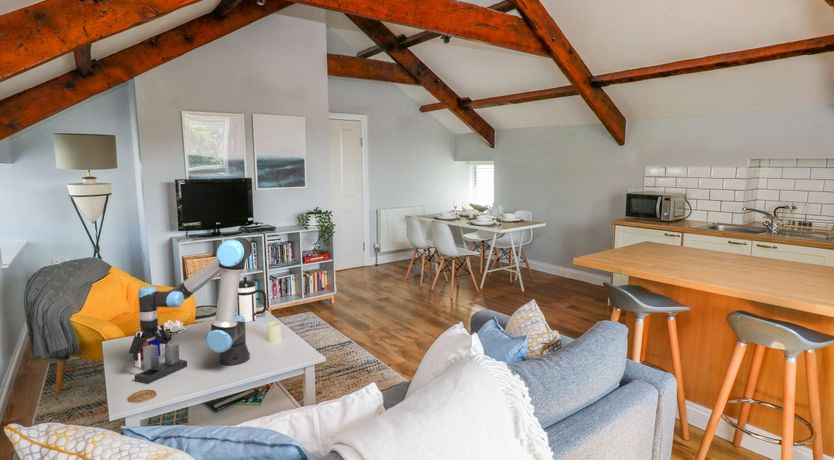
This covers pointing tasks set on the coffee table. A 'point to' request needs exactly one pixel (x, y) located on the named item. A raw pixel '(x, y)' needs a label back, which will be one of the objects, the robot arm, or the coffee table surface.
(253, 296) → the coffee press
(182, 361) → the rail
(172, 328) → the lotus flower
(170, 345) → the seated peg
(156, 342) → the puzzle cube
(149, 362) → the steel peg
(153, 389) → the coffee table surface
